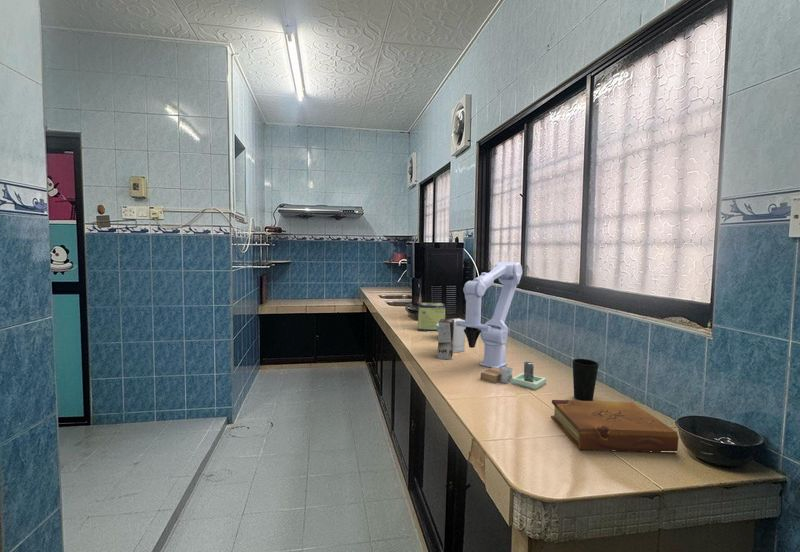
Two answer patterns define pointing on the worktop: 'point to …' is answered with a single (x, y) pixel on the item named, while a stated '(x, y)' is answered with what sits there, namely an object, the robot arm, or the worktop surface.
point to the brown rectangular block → (491, 375)
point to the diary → (613, 426)
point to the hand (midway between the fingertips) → (471, 347)
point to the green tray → (535, 385)
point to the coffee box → (445, 339)
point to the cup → (584, 378)
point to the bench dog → (505, 374)
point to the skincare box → (458, 337)
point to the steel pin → (528, 371)
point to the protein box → (430, 315)
